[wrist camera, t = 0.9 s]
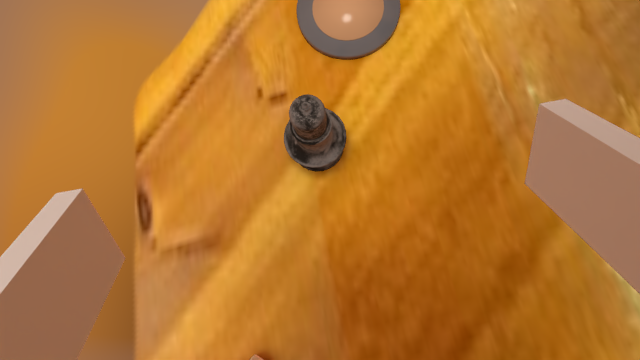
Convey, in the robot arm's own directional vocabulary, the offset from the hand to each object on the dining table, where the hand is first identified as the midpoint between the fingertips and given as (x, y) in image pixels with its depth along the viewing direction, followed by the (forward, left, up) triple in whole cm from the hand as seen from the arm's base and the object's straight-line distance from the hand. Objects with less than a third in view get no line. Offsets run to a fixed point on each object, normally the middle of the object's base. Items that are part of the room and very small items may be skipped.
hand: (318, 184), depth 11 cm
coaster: (+15, -17, -26) cm, 35 cm away
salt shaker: (+7, -4, -26) cm, 28 cm away
